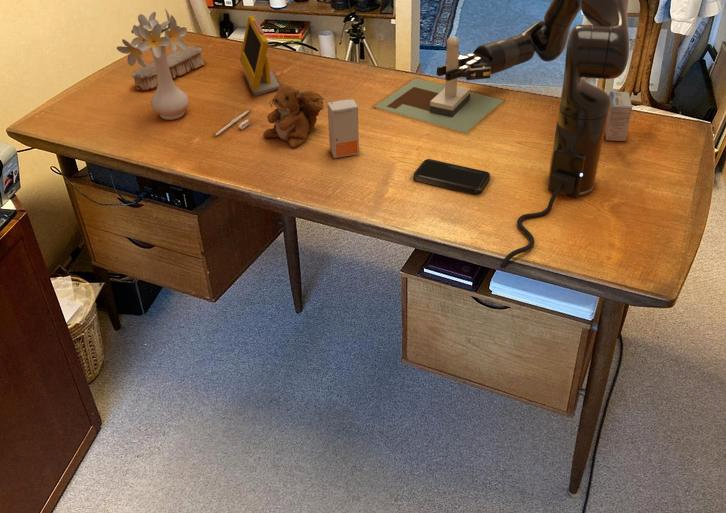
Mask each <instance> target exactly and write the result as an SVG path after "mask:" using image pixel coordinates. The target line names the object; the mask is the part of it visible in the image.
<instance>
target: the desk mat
mask: <svg viewBox="0 0 726 513" xmlns="http://www.w3.org/2000/svg"><path fill="white" fill-rule="evenodd" d="M444 88H445V84H441V83H438V82H434V81H430V80H426V79H421V78H418V77H415V78H414V79H412V80H410V81H409V82H408V83H406V84H405V85H403V86H402V87H401V88H399V89H397V90H396V91H394V92H393V93H391V94H390V95H389V96H387V97H386V98H384V99H383V100H381V101H380V102H378V103H377V104H376V105H374V106H373V108H374V109H379V110H383V111H387V112H391V113H395V114H398V115H401V116H404V117H408V118H412V119H415V120H419V121H422V122H426V123H429V124H432V125H436V126H440V127H444V128H448V129H450V130H454V131H458V132H461V133H465V134H466V133H468V131H470V130H471V129H472V128H473V127H474V126H476V125H477V124H478V123H479V122H480V121H481V120H483V119H484V118H485V117H487V115H488V114H490V113H491V112H492V111H493V110H494V109H495V108H497V106H499V105H500V104H501V103H502V102H503V101H504V99H501V98H497V97H493V96H489V95H485V94H481V93H479V92H478V93H476V92H473V91H471V93H470V100H469V101H468V102H467V103H466V104H465V105H464V106H463V107H462V108H461V109H460V110H459V111H458V112H457V113H456V114H455V115H454V116H453V117H448V116H444V115H439V114H435V113H430V101H431V100H432V99H433V98H434V97H436V96H437V95H438V94H439V93H440V92H441V91H442V90H443V89H444Z"/></svg>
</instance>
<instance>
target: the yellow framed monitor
mask: <svg viewBox="0 0 726 513" xmlns="http://www.w3.org/2000/svg"><path fill="white" fill-rule="evenodd" d="M268 49H269V41H268V39H267V37H266V35H265V31H263V29H262V27H261V25H260V23H259V22H258V20H257V19H256V17H255V16H254V15H251V14H249V15H248V17H247V21H246V27H245V32H244V36H243V41H242V47H241V52H240V57H239V62H240V64H241V66H242V68H243V70H244V78H245V80H246V81H247V83H248V86H249V88H250V90H251V93H252V95H253V96H254V97H257V96H260V95H264V94H268V93H271V92H275V91H276V92H277V91H278V88H279V87H280V82H279V81H278V80H277V77H276V75H275V74H274V71H273V70H270V65H269V64H270V63H269V58H268V56H267V53H268Z"/></svg>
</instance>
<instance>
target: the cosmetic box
mask: <svg viewBox="0 0 726 513" xmlns="http://www.w3.org/2000/svg"><path fill="white" fill-rule="evenodd" d="M326 105H327V120H328V121H327V123H328V124H327V125H328V141H329V151H330V153H331V155H332V156H333V159H337V158H338V159H339V158H344V157H350V156H351V157H352V156H356V155H357V156H358V155H360V142H359V141H360V138H359V136H360V135H359V134H360V131H359V105H357V103H356V101H355V99H354V98H351V99H343V100H342V99H341V100H337V101H331V102H327V103H326Z"/></svg>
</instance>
